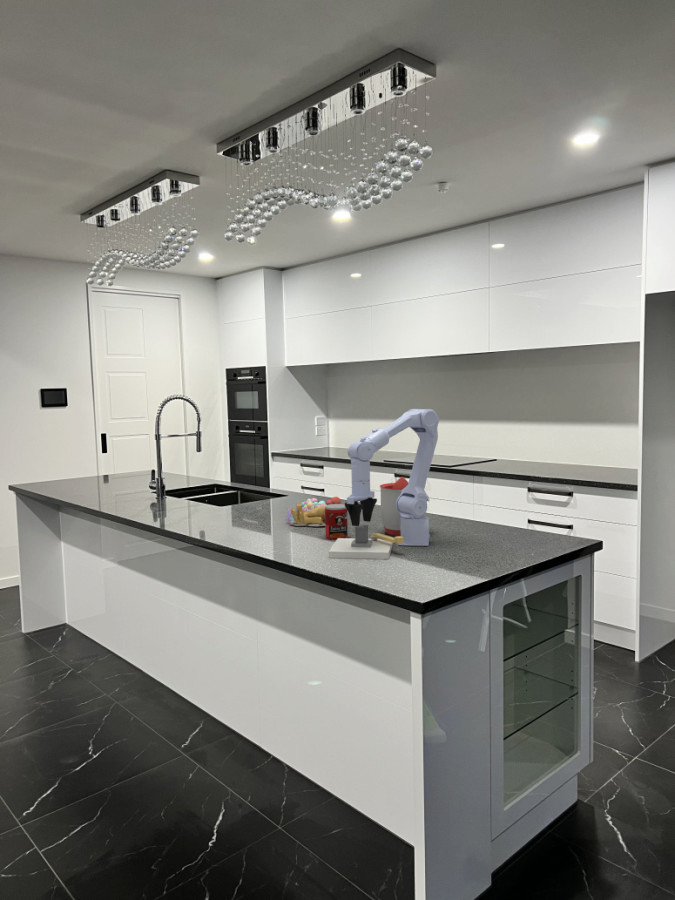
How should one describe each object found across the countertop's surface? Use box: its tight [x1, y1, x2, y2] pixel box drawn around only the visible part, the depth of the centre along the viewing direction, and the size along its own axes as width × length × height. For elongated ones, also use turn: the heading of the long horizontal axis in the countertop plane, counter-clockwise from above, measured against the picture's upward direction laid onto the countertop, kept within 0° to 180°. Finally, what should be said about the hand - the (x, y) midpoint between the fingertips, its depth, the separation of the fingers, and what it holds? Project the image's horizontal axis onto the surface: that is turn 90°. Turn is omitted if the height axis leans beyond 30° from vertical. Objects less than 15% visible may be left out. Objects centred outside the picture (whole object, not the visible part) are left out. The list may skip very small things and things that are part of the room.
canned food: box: [324, 503, 349, 541], centre depth 230 cm, size 8×8×11 cm
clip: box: [370, 532, 404, 546], centre depth 211 cm, size 2×15×3 cm, turn 33°
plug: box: [351, 524, 372, 547], centre depth 210 cm, size 6×6×8 cm
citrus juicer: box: [379, 476, 431, 537], centre depth 234 cm, size 16×17×20 cm
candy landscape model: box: [286, 496, 349, 527], centre depth 259 cm, size 25×24×9 cm
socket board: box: [328, 537, 394, 560], centre depth 210 cm, size 18×18×2 cm
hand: (361, 523), depth 209 cm, fingers open, 7 cm apart
